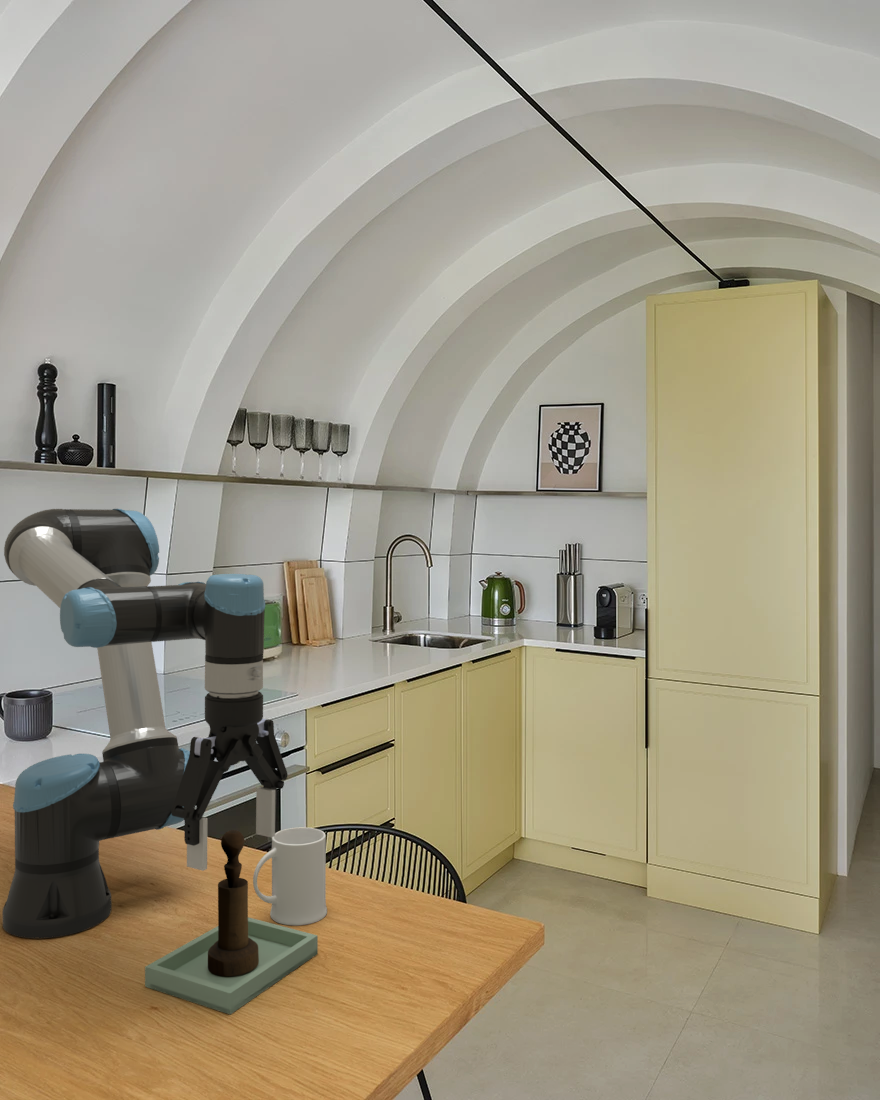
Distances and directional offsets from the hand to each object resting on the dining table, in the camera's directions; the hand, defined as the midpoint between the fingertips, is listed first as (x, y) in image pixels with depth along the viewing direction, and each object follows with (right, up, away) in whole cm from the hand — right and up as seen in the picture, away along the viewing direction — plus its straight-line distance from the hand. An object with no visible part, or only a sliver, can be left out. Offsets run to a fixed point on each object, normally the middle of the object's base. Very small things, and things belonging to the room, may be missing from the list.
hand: (232, 850), depth 124 cm
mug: (+5, -16, +17) cm, 24 cm away
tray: (0, -16, 0) cm, 16 cm away
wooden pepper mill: (0, -15, 0) cm, 15 cm away
